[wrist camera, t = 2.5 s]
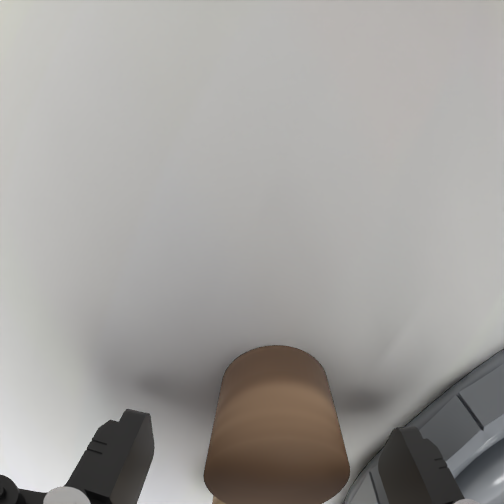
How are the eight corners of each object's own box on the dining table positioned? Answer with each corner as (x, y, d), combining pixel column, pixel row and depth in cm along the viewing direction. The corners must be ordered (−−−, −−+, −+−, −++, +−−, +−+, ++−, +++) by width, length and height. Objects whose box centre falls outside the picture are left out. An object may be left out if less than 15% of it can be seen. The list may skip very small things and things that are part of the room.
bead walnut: (224, 339, 11) (203, 429, 7) (337, 348, 11) (369, 436, 7) (219, 420, 12) (203, 507, 8) (315, 427, 12) (329, 513, 8)
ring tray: (418, 327, 11) (457, 374, 8) (615, 319, 10) (641, 335, 7) (309, 551, 16) (311, 584, 12) (504, 504, 15) (515, 525, 12)
